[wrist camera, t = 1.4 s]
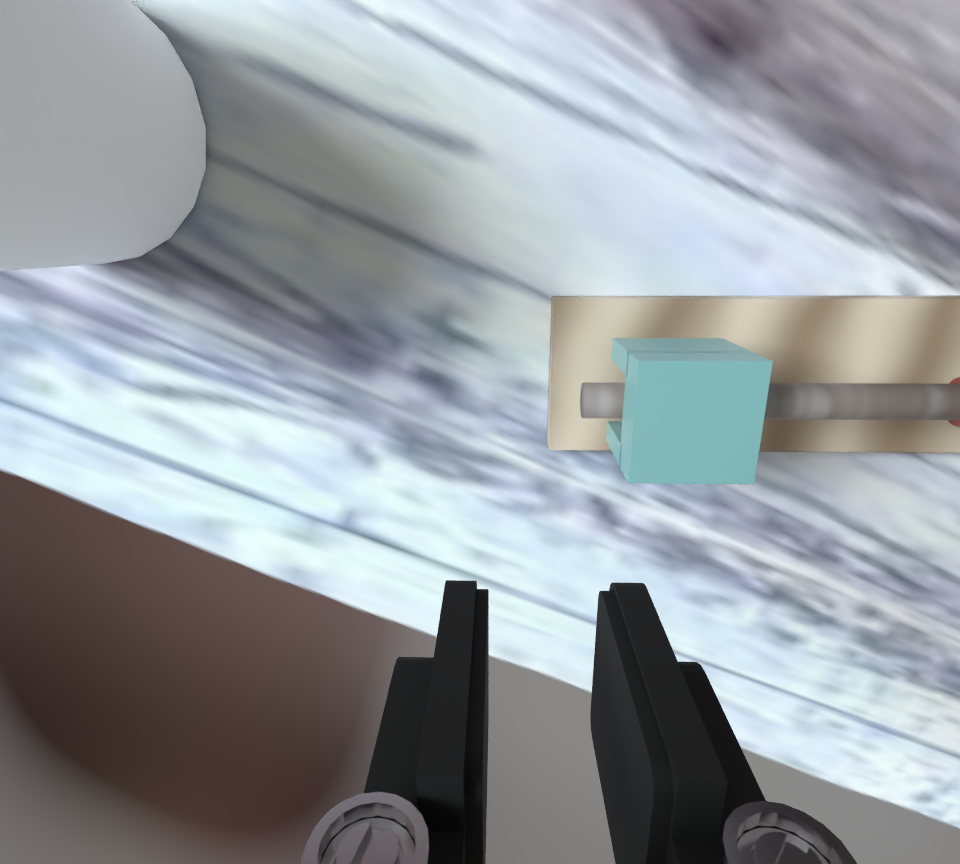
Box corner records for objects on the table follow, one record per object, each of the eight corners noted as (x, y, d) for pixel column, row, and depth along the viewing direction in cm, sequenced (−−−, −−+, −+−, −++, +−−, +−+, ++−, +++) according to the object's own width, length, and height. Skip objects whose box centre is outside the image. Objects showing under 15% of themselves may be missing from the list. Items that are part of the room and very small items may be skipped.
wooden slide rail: (1064, 295, 30) (1269, 317, 22) (1020, 443, 33) (1190, 511, 25) (551, 296, 31) (570, 317, 23) (547, 441, 34) (562, 505, 25)
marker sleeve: (722, 337, 27) (772, 361, 22) (709, 441, 29) (754, 484, 24) (612, 337, 27) (638, 360, 22) (605, 440, 29) (628, 483, 24)
